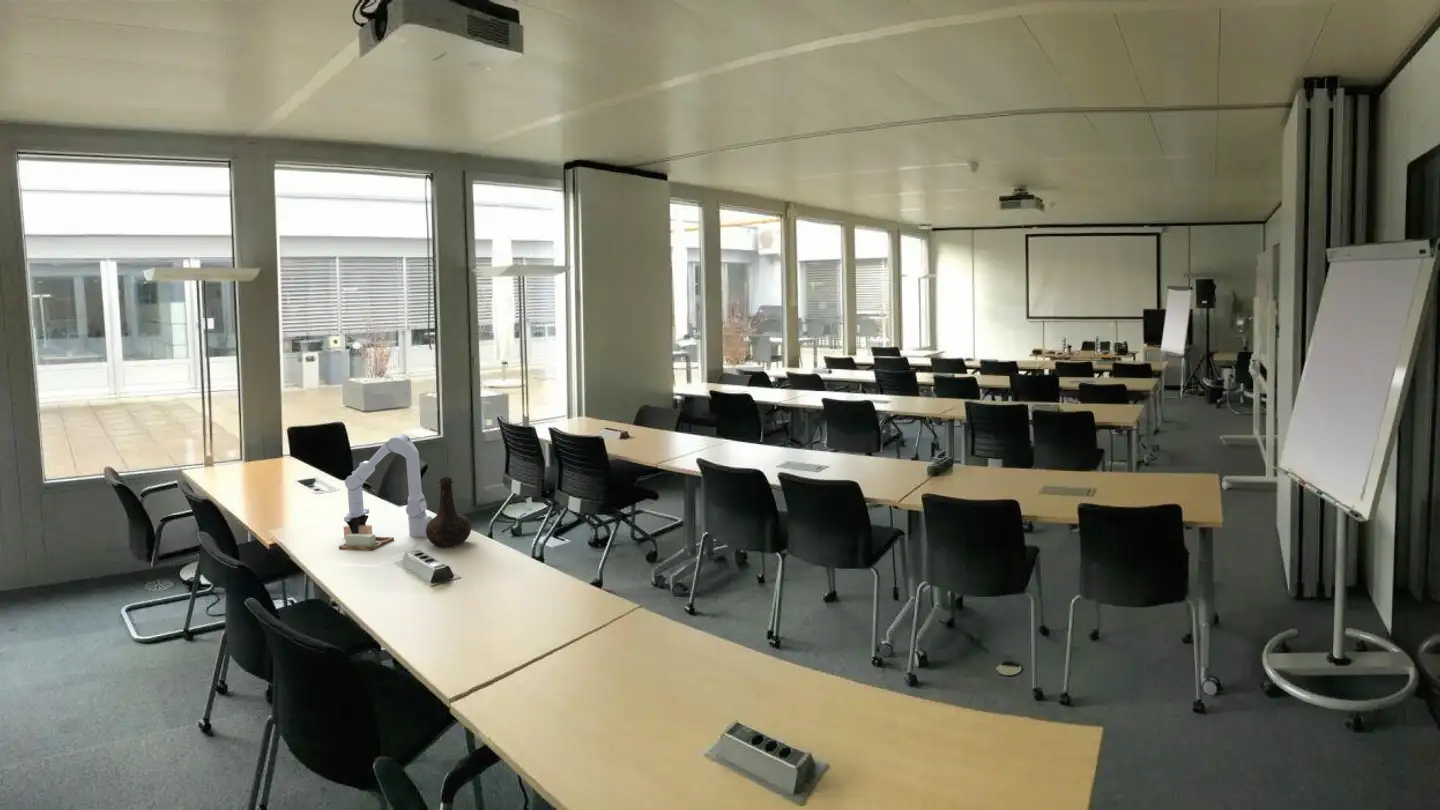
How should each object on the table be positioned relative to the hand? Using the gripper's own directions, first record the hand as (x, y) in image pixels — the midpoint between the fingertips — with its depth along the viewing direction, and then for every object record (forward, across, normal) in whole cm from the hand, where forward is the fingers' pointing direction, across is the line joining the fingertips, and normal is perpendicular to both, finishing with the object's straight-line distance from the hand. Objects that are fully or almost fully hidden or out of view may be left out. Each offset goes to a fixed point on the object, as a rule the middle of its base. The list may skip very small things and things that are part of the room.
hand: (358, 534), depth 362 cm
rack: (+2, +11, +12) cm, 16 cm away
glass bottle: (+2, +4, +44) cm, 45 cm away
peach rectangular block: (+1, 0, 0) cm, 1 cm away
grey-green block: (+1, +15, +12) cm, 19 cm away
